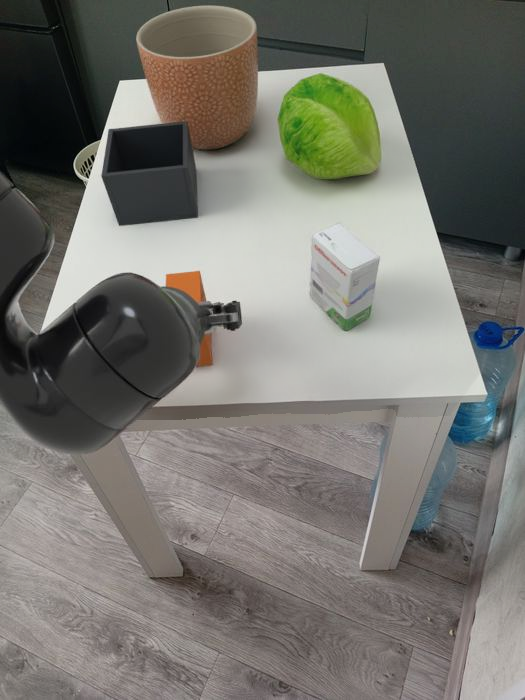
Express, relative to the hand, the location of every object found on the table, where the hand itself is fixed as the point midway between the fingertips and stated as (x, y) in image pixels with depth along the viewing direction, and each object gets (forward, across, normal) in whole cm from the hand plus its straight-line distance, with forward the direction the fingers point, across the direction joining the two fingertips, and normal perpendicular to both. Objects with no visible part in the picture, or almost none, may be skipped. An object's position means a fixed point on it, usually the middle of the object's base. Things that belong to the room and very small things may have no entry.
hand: (182, 315), depth 60 cm
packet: (+10, 0, +5) cm, 11 cm away
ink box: (+13, -21, +2) cm, 25 cm away
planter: (+48, -4, -33) cm, 58 cm away
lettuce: (+37, -25, -21) cm, 49 cm away
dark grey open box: (+34, +6, -19) cm, 40 cm away
